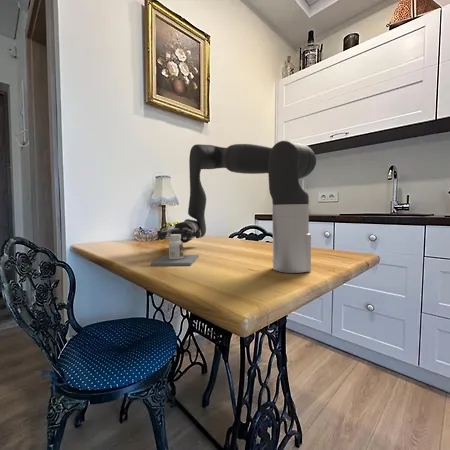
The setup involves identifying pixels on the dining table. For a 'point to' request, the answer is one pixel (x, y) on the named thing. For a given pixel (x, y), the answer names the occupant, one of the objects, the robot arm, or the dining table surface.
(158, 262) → the mat
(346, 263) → the dining table surface
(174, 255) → the pill bottle
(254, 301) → the dining table surface
